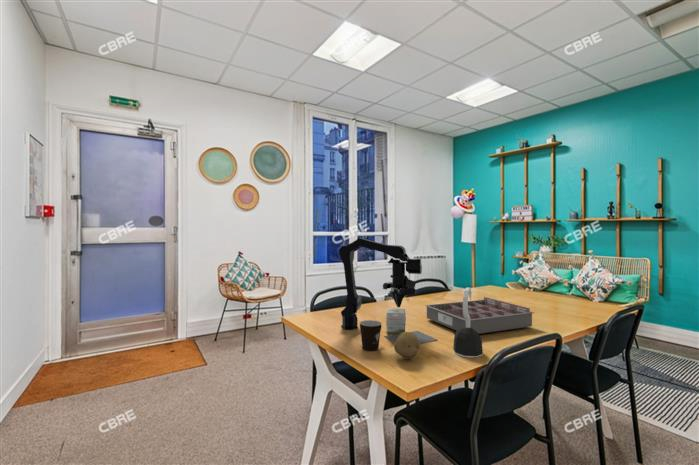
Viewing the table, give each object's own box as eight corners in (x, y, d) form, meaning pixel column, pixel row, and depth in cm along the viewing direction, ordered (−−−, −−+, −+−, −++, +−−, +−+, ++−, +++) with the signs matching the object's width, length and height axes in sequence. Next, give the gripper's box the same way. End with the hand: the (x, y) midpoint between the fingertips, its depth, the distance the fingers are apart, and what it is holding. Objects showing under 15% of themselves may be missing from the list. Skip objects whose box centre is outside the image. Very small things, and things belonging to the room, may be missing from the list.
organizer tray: (424, 320, 174) (424, 301, 174) (484, 313, 189) (484, 296, 189) (466, 339, 144) (466, 316, 144) (534, 329, 159) (534, 308, 159)
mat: (402, 346, 134) (402, 345, 134) (384, 336, 147) (384, 335, 147) (437, 340, 142) (437, 339, 142) (417, 331, 155) (417, 330, 155)
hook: (456, 345, 136) (456, 284, 136) (485, 350, 130) (485, 286, 130) (449, 354, 126) (449, 288, 126) (480, 360, 120) (480, 291, 120)
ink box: (404, 323, 156) (406, 304, 147) (405, 332, 153) (406, 313, 143) (385, 323, 157) (386, 303, 148) (386, 332, 154) (386, 313, 144)
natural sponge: (423, 364, 117) (423, 335, 117) (398, 365, 116) (398, 336, 116) (416, 354, 126) (416, 328, 126) (392, 355, 125) (392, 328, 125)
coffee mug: (366, 353, 127) (366, 327, 127) (355, 346, 135) (355, 321, 134) (391, 348, 132) (392, 323, 132) (380, 342, 140) (380, 318, 140)
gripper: (425, 274, 148) (425, 309, 148) (401, 270, 165) (401, 301, 165) (404, 276, 143) (404, 312, 143) (382, 271, 160) (382, 303, 160)
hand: (398, 307), depth 153 cm, fingers closed
